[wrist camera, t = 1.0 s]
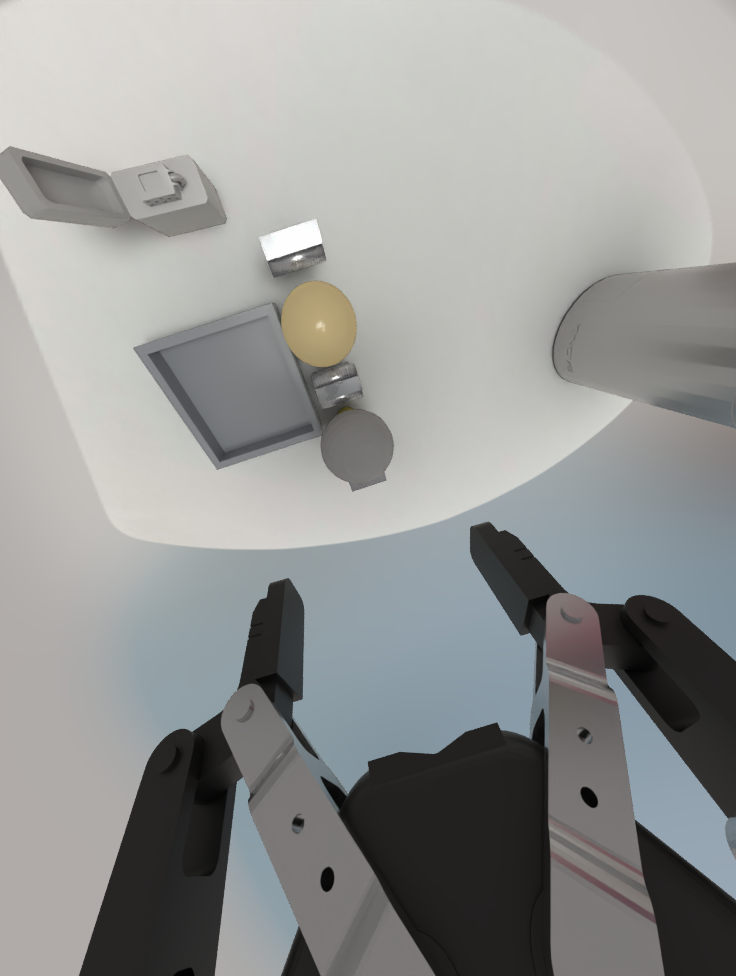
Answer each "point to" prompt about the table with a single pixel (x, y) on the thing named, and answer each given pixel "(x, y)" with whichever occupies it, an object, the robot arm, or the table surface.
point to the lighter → (113, 193)
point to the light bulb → (357, 445)
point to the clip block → (293, 254)
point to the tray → (235, 385)
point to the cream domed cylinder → (318, 323)
